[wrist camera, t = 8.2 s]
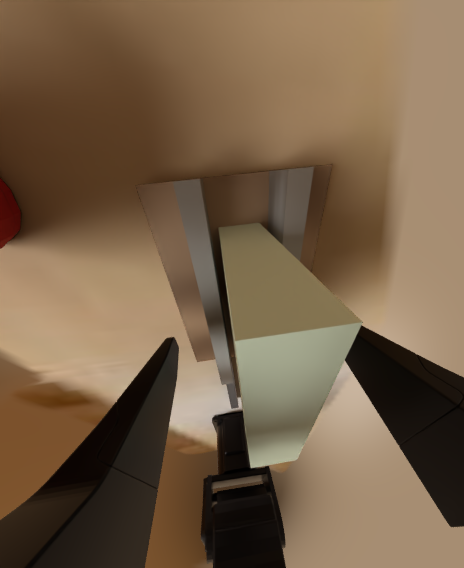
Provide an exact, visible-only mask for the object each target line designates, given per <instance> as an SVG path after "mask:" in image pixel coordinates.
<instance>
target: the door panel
mask: <svg viewBox="0 0 464 568" xmlns="http://www.w3.org/2000/svg"><path fill="white" fill-rule="evenodd" d="M218 229H219V236H220V244H221V251H222V259H223V267H224V274H225V282H226V289H227V297H228V305H229V312H230V320H231V328H232V335H233V343H234V350H235V357H236V365H237V372H238V379H239V387H240V394H241V401H242V409H243V416H244V423H245V431H246V438H247V445H248V453H249V460H250V467H251V468H255V467H260V466H266V465H272V464H277V463H283V462H288V461H294V460H297V458H298V456H299V454H300V452H301V450H302V448H303V446H304V444H305V442H306V440H307V438H308V435H309V433H310V431H311V429H312V427H313V425H314V423H315V421H316V419H317V417H318V415H319V413H320V410H321V408H322V406H323V404H324V402H325V400H326V398H327V396H328V394H329V392H330V390H331V387H332V385H333V383H334V381H335V379H336V377H337V375H338V373H339V371H340V369H341V367H342V365H343V362H344V360H345V358H346V356H347V354H348V352H349V350H350V348H351V346H352V344H353V342H354V340H355V337H356V335H357V333H358V331H359V329H360V327H361V325H362V323H363V322H362V321H361V320H360V319H359V318H358V317H357V316H356V315H355V314H354V313H353V312H352V311H351V310H350V309H349V308H348V307H346V306H345V305H344V304H343V303H342V302H341V301H340V300H339V299H338V298H337V297H336V296H335V295H334V294H333V293H332V292H331V291H330V290H329V289H328V288H327V287H326V286H325V285H324V284H322V283H321V282H320V281H319V280H318V279H317V278H316V277H315V276H314V275H313V274H312V273H311V272H310V271H309V270H308V269H307V268H306V267H305V266H304V265H303V264H302V263H301V262H300V261H299V260H297V259H296V258H295V257H294V256H293V255H292V254H291V253H290V252H289V251H288V250H287V249H286V248H285V247H284V246H283V245H282V244H281V243H280V242H279V241H278V240H277V239H276V238H275V237H274V236H272V235H271V234H270V233H269V232H268V231H267V230H266V229H265V228H264V227H263V226H262V225H261V224H260V223H252V224H243V225H235V226H227V227H218Z"/></svg>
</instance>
